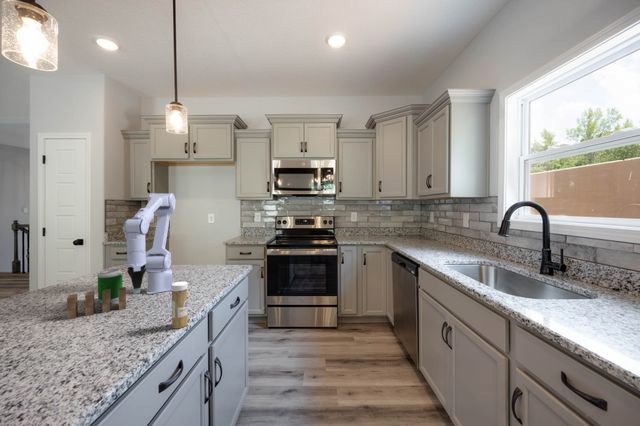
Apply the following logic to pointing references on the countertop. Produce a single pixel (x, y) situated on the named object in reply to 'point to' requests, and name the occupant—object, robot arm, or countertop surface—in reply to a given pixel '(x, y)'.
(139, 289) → the loose domino
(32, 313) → the countertop surface
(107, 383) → the countertop surface
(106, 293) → the domino
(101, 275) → the soda can
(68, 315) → the domino
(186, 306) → the sprinkles bottle
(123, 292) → the domino
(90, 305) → the domino
